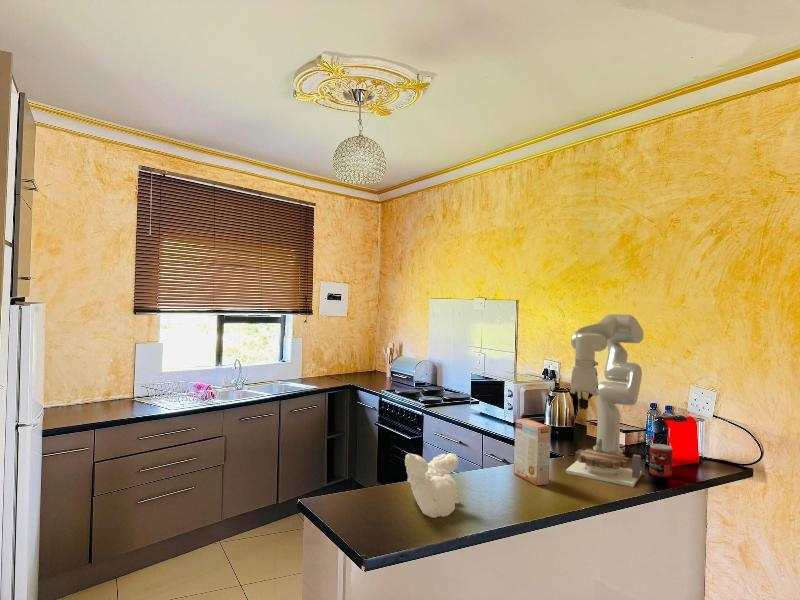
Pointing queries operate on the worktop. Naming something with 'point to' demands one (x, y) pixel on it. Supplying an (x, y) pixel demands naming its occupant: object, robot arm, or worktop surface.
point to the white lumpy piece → (433, 483)
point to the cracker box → (532, 451)
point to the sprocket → (602, 457)
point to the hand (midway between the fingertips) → (583, 408)
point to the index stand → (609, 472)
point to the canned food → (661, 460)
